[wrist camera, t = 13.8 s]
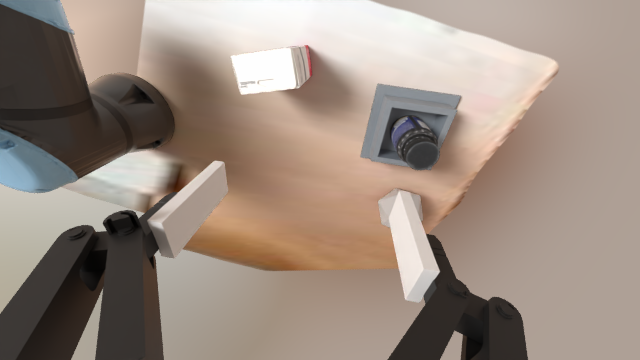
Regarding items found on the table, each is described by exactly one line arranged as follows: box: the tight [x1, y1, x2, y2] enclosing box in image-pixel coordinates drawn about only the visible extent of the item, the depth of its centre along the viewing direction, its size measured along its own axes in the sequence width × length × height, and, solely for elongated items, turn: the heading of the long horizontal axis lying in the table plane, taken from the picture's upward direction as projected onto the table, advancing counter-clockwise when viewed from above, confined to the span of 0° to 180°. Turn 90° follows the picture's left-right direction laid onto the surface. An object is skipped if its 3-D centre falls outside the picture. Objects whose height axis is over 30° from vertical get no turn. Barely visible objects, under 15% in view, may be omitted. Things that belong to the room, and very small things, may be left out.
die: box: [378, 188, 423, 228], centre depth 48 cm, size 8×9×10 cm
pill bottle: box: [390, 115, 440, 170], centre depth 37 cm, size 6×6×11 cm
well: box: [360, 84, 461, 170], centre depth 40 cm, size 14×14×4 cm
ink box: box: [230, 45, 312, 95], centre depth 34 cm, size 8×5×12 cm, turn 98°
